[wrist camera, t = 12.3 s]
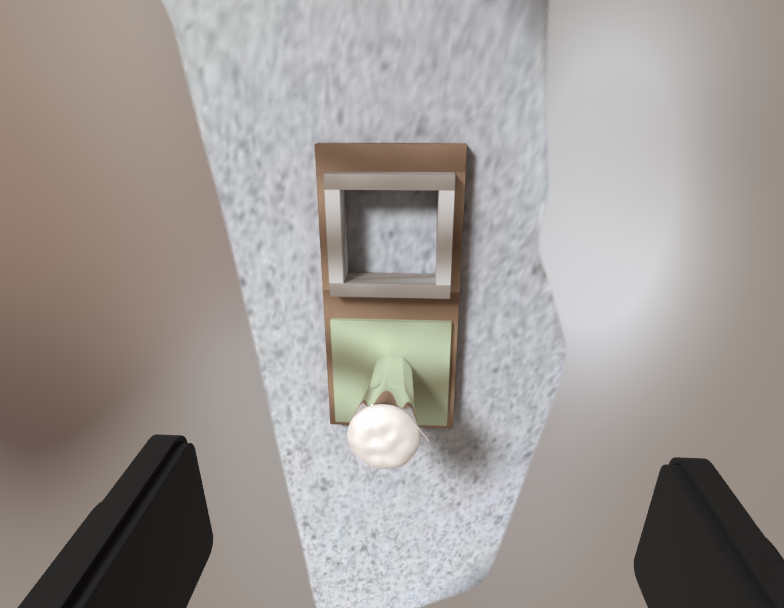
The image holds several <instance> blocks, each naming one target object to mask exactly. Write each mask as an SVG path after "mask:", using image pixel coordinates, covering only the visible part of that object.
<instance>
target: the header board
mask: <svg viewBox="0 0 784 608" xmlns="http://www.w3.org/2000/svg"><path fill="white" fill-rule="evenodd" d="M466 155H467V144H466V143H317V144H315V160H316V177H317V195H318V213H319V230H320V248H321V266H322V283H323V301H324V318H325V336H326V354H327V371H328V389H329V406H330V424H343V425H349V424H350V422H351V419H352V417H353V414H354V412H355V410H356V407H357V405H358V402H359V400H360V397H361V394H362V391H363V388H364V385H365V383H366V380H367V377H368V374H369V371H370V369H371V367H372V366H373V364H374V363H375V362H376V360H377V359H378V358H381V357H384V356H387V355H390V354H391V355H395V356H399V357H403V358H404V359H405V360H406V362H407V363H408V364H409V365H410V366H411V367H412V377H413V388H414V398H415V405H416V411H417V417H418V424H419V427H430V428H453V413H454V393H455V373H456V353H457V333H458V313H459V294H460V274H461V254H462V234H463V214H464V195H465V175H466ZM345 190H438V207H437V239H436V271H435V274H419V273H360V272H348V249H347V222H346V194H345Z"/></svg>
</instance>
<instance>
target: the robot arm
mask: <svg viewBox="0 0 784 608" xmlns="http://www.w3.org/2000/svg"><path fill="white" fill-rule="evenodd" d="M212 545H213V533H212V528H211V524H210V519H209V514H208V509H207V504H206V500H205V495H204V490H203V485H202V480H201V475H200V471H199V466H198V461H197V456H196V451H195V447H194V445H193V444H192V443H187V440H186V438H185V437H184V436H180V435H179V436H178V435H157V434H156V435H153V436H152V437H151V438H150V439H149V440H148V441H147V443H146V444H145V446H144V447H143V448H142V450H141V451H140V452H139V453H138V455H137V456H136V457H135V459H134V460H133V461H132V463H131V464H130V465H129V467H128V468H127V469H126V471H125V472H124V473H123V475H122V476H121V477H120V479H119V480H118V481H117V483H116V484H115V485H114V486H113V488H112V489H111V490H110V492H109V493H108V494H107V496H106V497H105V498H104V500H103V501H102V502H101V503H99V504H98V505H97V506H96V507H95V508H94V509H93V510H92V511H91V512H90V514H89V515H88V516H87V518H86V519H85V520H84V522H83V523H82V524H81V526H80V527H79V528H78V529H77V531H76V532H75V533H74V535H73V536H72V537H71V539H70V540H69V541H68V543H67V544H66V545H65V546H64V548H63V549H62V550H61V552H60V553H59V554H58V556H57V557H56V558H55V560H54V561H53V562H52V563H51V565H50V566H49V567H48V569H47V570H46V572H45V573H44V574H43V575H42V577H41V578H40V579H39V581H38V582H37V583H36V584H35V586H34V587H33V588H32V590H31V591H30V592H29V594H28V595H27V596H26V598H25V599H24V600H23V601H22V603H21V604H20V605H19V607H18V608H186V607H187V605H188V603H189V600H190V598H191V596H192V594H193V591H194V589H195V587H196V585H197V582H198V580H199V578H200V576H201V573H202V571H203V569H204V567H205V565H206V563H207V560H208V558H209V556H210V553H211V550H212ZM634 571H635V576H636V579H637V582H638V584H639V587H640V589H641V591H642V594H643V596H644V599H645V601H646V604H647V606H648V608H784V559H783V558H782V557H781V555H780V554H779V552H778V551H777V549H776V548H775V547H774V546H773V545H772V543H771V542H770V541H769V540H768V539H767V538H765V536H764V535H763V533H762V532H761V531H760V529H759V528H758V527H757V526H756V524H755V523H754V521H753V520H752V518H751V517H750V515H749V514H748V513H747V511H746V510H745V509H744V507H743V506H742V504H741V503H740V502H739V500H738V499H737V498H736V496H735V495H734V493H733V492H732V491H731V489H730V488H729V486H728V485H727V484H726V482H725V481H724V480H723V478H722V477H721V475H720V474H719V473H718V471H717V470H716V469H715V467H714V466H713V465H712V463H711V462H710V461H709V460H707V459H701V458H678V457H677V458H673V459H672V460H671V461H670V463H669V465H663V466H662V467H661V469H660V472H659V476H658V479H657V483H656V486H655V489H654V493H653V496H652V500H651V503H650V507H649V510H648V514H647V517H646V521H645V524H644V527H643V531H642V534H641V538H640V541H639V544H638V548H637V552H636V555H635V558H634Z"/></svg>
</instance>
